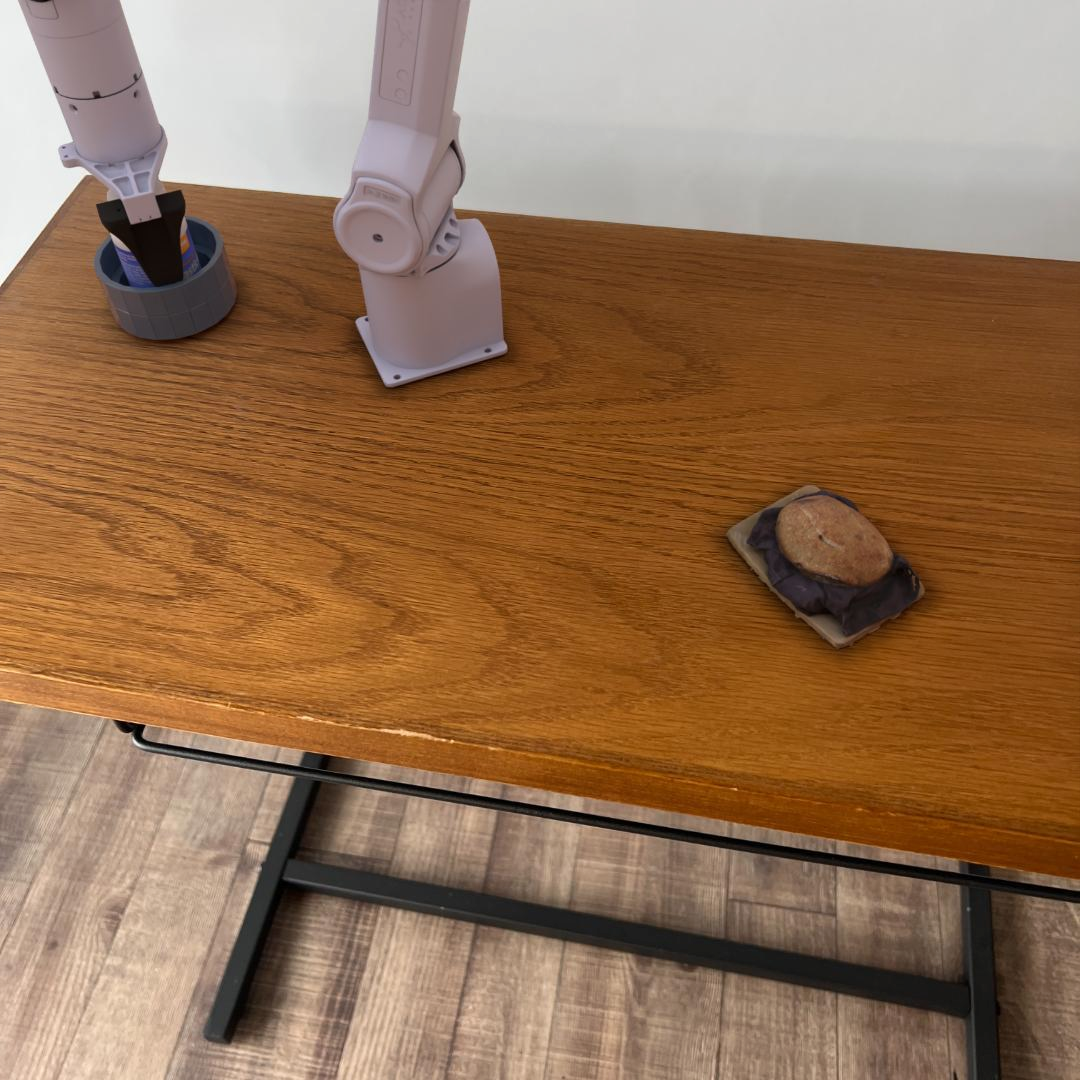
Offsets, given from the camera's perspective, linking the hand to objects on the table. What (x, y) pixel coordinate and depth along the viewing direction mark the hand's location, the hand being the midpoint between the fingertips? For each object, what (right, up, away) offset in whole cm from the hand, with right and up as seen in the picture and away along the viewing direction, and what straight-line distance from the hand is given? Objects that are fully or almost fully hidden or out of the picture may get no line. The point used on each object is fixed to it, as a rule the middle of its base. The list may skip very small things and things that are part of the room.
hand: (159, 252), depth 80 cm
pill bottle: (0, -3, +4) cm, 5 cm away
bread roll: (+46, -23, -13) cm, 53 cm away
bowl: (0, -3, +4) cm, 5 cm away
